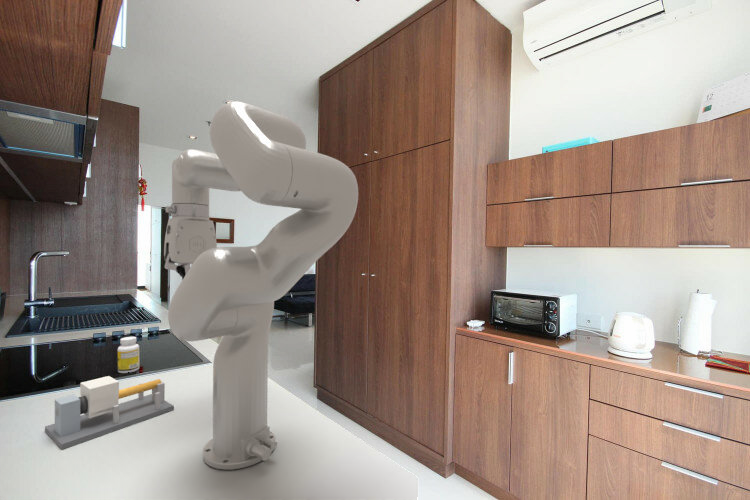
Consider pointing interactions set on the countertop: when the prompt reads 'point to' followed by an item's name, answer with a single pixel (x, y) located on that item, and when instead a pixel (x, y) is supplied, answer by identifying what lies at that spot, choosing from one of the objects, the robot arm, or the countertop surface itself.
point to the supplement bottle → (128, 355)
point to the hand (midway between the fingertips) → (190, 294)
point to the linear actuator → (105, 414)
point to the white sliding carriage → (100, 395)
